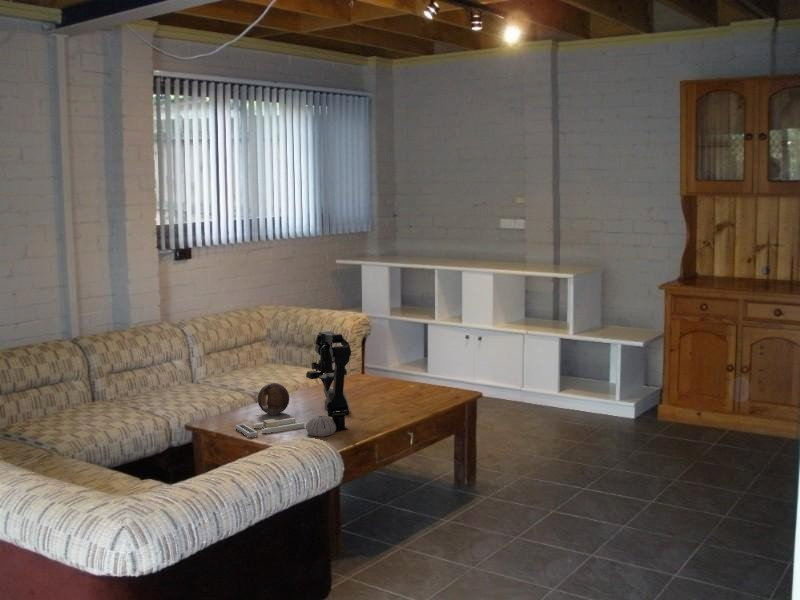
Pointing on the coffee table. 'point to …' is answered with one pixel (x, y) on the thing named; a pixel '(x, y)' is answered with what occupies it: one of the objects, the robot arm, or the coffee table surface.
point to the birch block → (270, 423)
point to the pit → (251, 432)
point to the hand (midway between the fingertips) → (327, 391)
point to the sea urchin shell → (321, 426)
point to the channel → (281, 428)
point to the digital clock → (328, 397)
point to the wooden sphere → (273, 398)
